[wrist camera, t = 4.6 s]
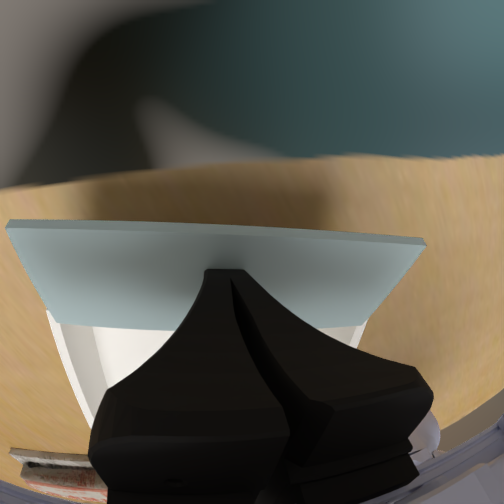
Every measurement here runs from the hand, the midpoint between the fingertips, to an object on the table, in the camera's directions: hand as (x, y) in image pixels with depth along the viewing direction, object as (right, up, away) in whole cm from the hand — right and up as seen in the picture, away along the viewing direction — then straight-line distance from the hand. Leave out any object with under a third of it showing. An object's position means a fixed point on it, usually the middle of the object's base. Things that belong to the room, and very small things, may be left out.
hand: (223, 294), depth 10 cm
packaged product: (-23, -27, +18) cm, 40 cm away
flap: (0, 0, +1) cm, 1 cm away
